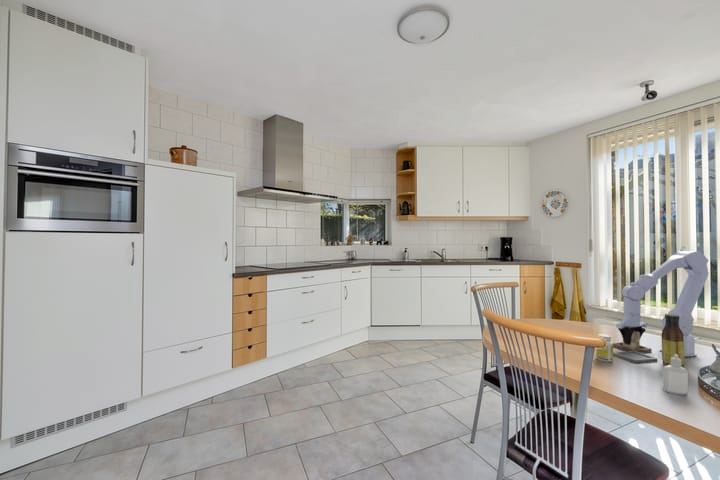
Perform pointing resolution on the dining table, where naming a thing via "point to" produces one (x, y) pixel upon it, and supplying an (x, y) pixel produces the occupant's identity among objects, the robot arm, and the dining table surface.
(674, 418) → the dining table surface
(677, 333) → the sauce bottle
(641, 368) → the dining table surface
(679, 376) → the eye dropper bottle
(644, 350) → the holder
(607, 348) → the supplement bottle
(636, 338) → the peg
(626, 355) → the tray
